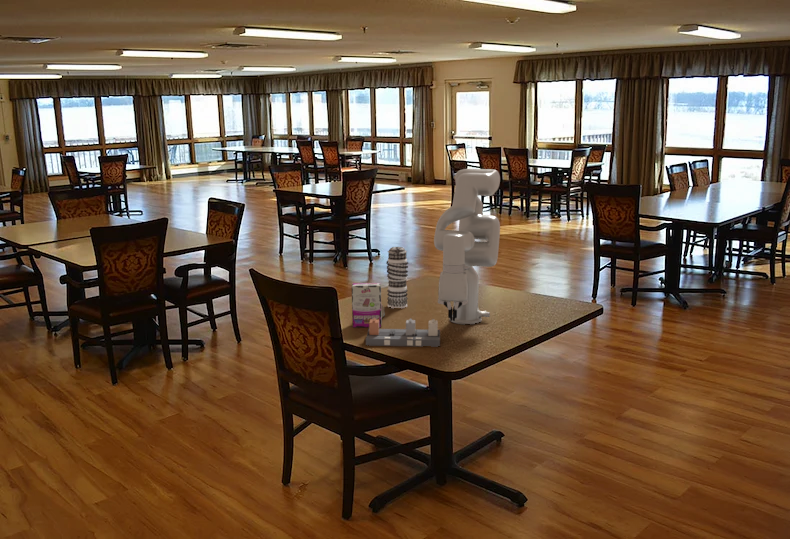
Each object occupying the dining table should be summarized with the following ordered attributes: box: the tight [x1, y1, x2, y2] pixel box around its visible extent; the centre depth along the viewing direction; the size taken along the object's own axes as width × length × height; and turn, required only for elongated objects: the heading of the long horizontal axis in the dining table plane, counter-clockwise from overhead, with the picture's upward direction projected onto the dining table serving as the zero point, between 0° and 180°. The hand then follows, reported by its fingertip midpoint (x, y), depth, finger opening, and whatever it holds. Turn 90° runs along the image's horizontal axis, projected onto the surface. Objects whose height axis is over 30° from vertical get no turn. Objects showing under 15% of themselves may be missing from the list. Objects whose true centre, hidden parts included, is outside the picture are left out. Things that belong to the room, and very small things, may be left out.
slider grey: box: [405, 318, 416, 336], centre depth 259 cm, size 3×4×5 cm
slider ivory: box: [427, 318, 439, 336], centre depth 259 cm, size 3×4×5 cm
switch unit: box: [365, 328, 441, 348], centre depth 260 cm, size 26×12×3 cm, turn 86°
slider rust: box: [368, 318, 380, 335], centre depth 260 cm, size 3×4×5 cm
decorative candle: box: [386, 246, 409, 309], centre depth 304 cm, size 9×9×25 cm
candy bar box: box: [351, 282, 383, 328], centre depth 277 cm, size 11×5×16 cm, turn 90°
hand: (452, 319), depth 257 cm, fingers closed
